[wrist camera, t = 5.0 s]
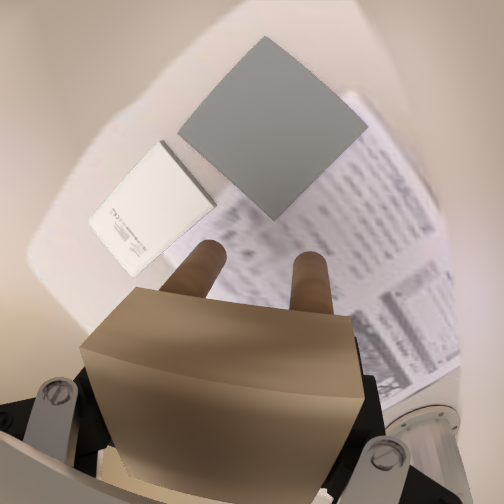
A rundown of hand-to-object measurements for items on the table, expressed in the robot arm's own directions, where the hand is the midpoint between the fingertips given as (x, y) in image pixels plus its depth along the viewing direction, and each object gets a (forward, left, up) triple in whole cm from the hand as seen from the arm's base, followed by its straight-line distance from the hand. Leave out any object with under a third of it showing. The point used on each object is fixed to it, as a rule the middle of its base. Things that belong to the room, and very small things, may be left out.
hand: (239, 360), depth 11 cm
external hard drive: (+10, +9, -21) cm, 25 cm away
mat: (+6, -5, -20) cm, 22 cm away
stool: (0, 0, -4) cm, 4 cm away
